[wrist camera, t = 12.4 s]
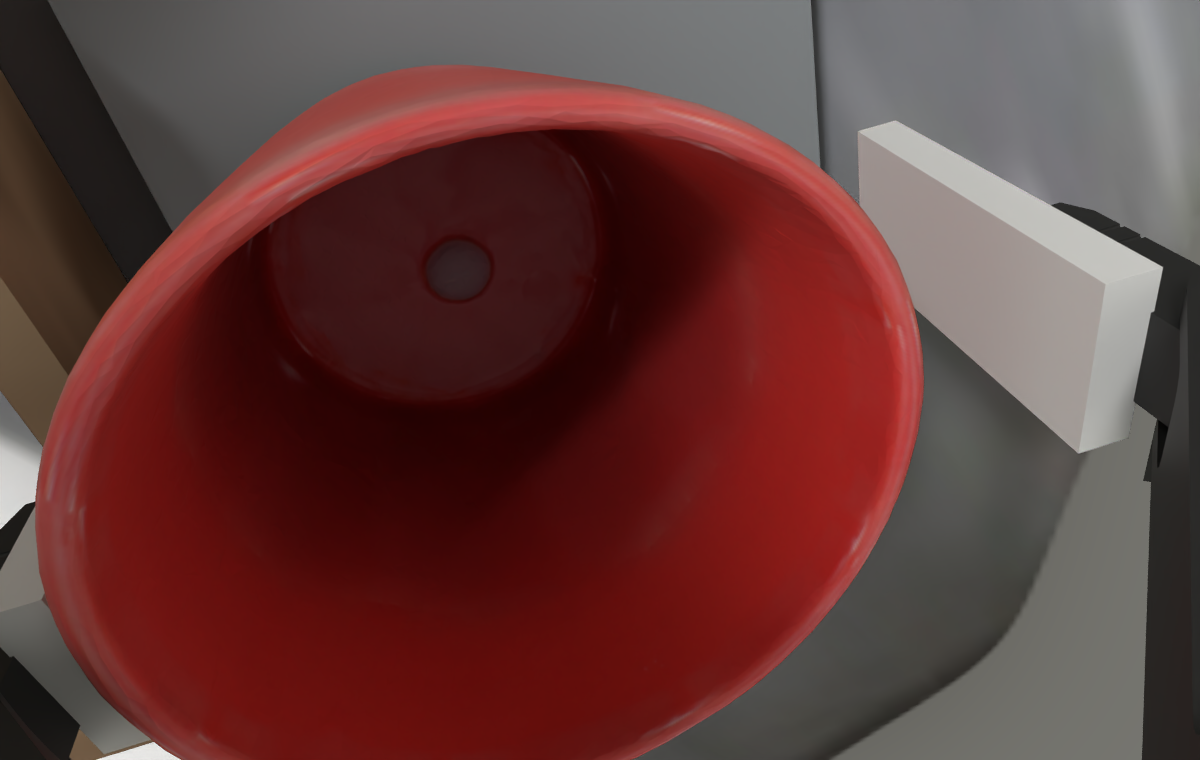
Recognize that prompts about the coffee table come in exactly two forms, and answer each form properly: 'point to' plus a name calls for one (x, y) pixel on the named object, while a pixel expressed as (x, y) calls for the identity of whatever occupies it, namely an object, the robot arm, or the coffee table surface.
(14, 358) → the frame
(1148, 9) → the coffee table surface
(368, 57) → the rubber mat
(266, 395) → the flower pot
